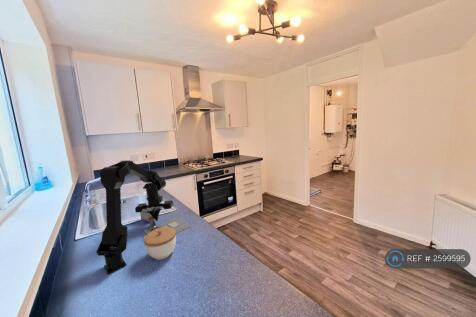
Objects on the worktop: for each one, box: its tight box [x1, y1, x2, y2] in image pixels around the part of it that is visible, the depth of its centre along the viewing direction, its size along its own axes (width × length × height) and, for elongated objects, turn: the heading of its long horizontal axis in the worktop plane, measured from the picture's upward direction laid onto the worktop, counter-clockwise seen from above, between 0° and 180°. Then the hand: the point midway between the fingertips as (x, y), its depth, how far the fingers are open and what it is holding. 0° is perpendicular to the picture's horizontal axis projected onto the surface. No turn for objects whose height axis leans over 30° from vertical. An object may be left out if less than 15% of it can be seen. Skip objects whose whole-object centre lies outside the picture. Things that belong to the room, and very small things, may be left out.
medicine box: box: [139, 209, 156, 223], centre depth 115 cm, size 8×4×9 cm, turn 73°
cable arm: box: [148, 215, 158, 231], centre depth 102 cm, size 3×14×4 cm, turn 29°
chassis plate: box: [143, 216, 192, 236], centre depth 103 cm, size 15×19×2 cm
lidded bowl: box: [143, 227, 177, 261], centre depth 82 cm, size 13×13×11 cm
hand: (157, 220), depth 107 cm, fingers closed
